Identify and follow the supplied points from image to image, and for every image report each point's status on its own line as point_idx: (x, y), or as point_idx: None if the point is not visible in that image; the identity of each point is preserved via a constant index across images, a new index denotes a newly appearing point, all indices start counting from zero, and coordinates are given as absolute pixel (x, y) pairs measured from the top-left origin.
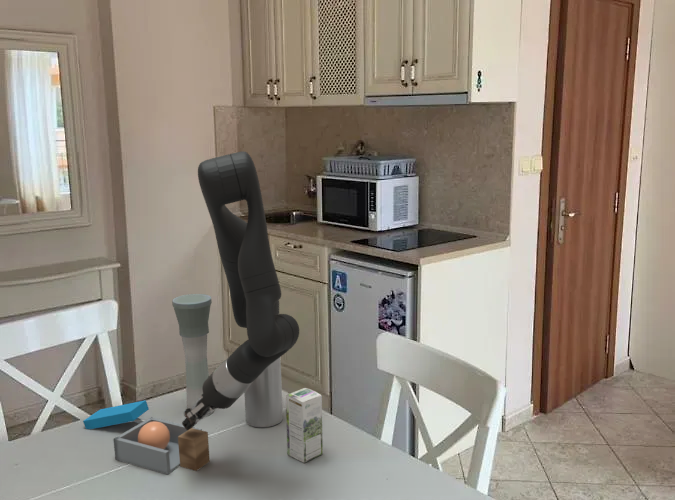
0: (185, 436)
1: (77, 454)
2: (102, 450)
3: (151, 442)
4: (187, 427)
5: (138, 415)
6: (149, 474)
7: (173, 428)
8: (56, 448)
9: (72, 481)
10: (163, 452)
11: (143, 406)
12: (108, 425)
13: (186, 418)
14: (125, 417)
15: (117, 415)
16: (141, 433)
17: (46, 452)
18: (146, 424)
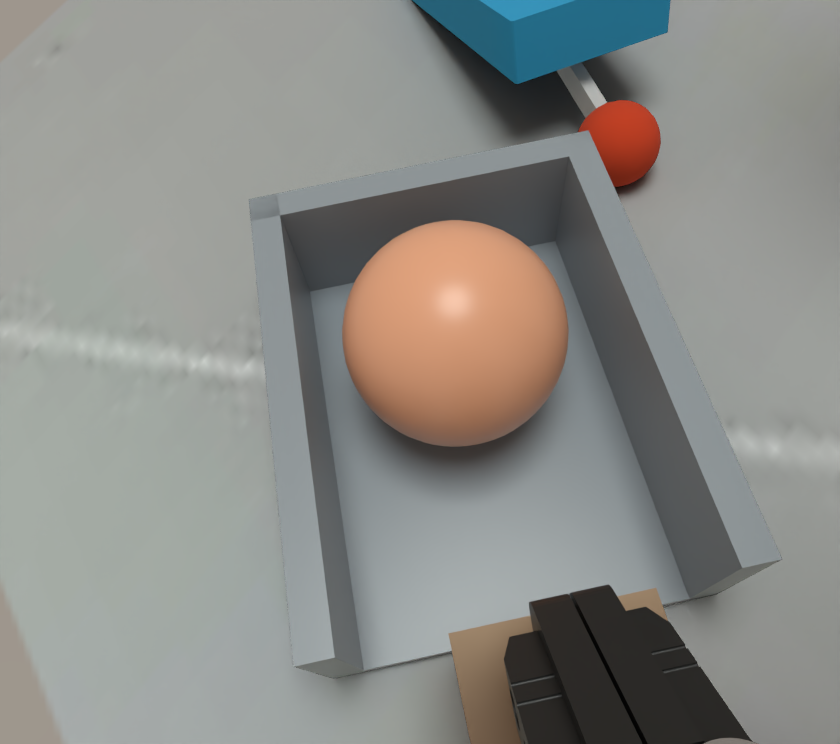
0: (502, 699)
1: (227, 129)
2: (314, 171)
3: (373, 400)
4: (520, 739)
5: (569, 57)
6: (273, 570)
7: (628, 330)
8: (219, 41)
9: (32, 308)
10: (292, 639)
11: (633, 6)
12: (448, 28)
13: (559, 679)
14: (494, 38)
15: (472, 2)
16: (354, 291)
17: (176, 43)
18: (417, 243)
